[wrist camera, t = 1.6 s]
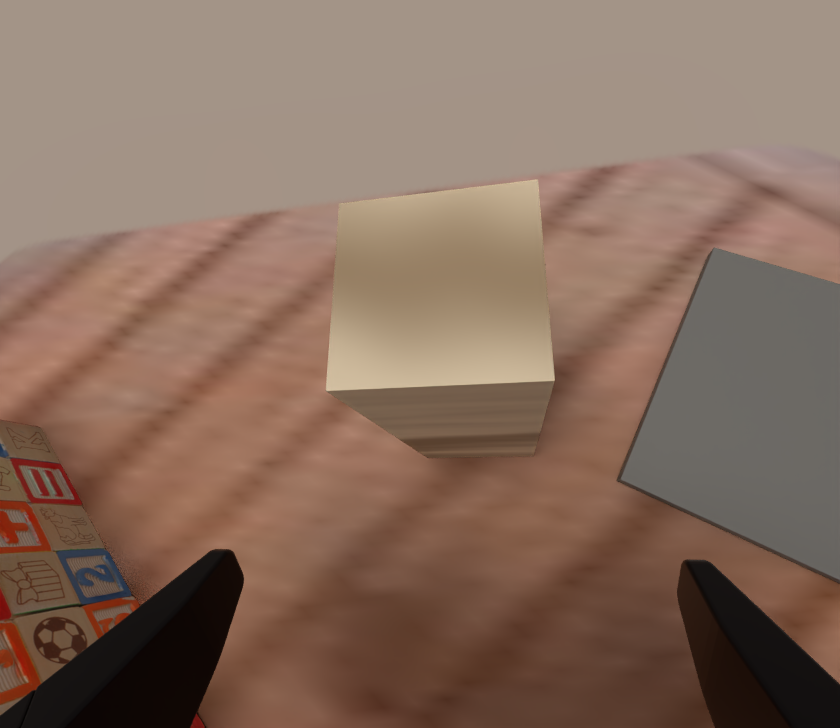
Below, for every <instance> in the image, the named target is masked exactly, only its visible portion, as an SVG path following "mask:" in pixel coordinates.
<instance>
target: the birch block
mask: <svg viewBox="0 0 840 728" xmlns="http://www.w3.org/2000/svg"><path fill="white" fill-rule="evenodd" d="M554 382H555V377H554V366H553V354H552V342H551V330H550V318H549V306H548V294H547V282H546V270H545V259H544V247H543V235H542V223H541V211H540V199H539V187H538V180H529V181H521V182H513V183H505V184H496V185H488V186H480V187H472V188H464V189H455V190H447V191H439V192H431V193H422V194H414V195H406V196H398V197H390V198H381V199H373V200H365V201H357V202H348V203H340V204H339V213H338V227H337V242H336V256H335V270H334V284H333V298H332V312H331V326H330V340H329V354H328V368H327V382H326V391H327V392H328V393H330V394H331V395H333V396H334V397H336V398H337V399H339V400H340V401H342V402H343V403H345V404H346V405H348V406H349V407H351V408H353V409H354V410H356V411H357V412H359V413H360V414H362V415H363V416H365V417H366V418H368V419H369V420H371V421H372V422H374V423H375V424H377V425H378V426H380V427H381V428H383V429H384V430H386V431H387V432H389V433H390V434H392V435H394V436H395V437H397V438H398V439H400V440H401V441H403V442H404V443H406V444H407V445H409V446H410V447H412V448H413V449H415V450H416V451H418V452H419V453H421V454H422V455H424V456H425V457H427V458H460V457H524V456H534V453H535V450H536V446H537V443H538V439H539V435H540V432H541V428H542V425H543V421H544V418H545V414H546V410H547V407H548V403H549V400H550V396H551V393H552V389H553V385H554Z"/></svg>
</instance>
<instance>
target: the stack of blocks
mask: <svg viewBox="0 0 840 728" xmlns="http://www.w3.org/2000/svg"><path fill="white" fill-rule="evenodd" d="M138 607H140V605H139V603H138V601H137V599H136V598H135V597H133V596H132V595H131V592H130V590H129V588H128V586H127V585H126V583H125V581H124V579H123V578H122V576H121V574H120V572H119V570H118V569H117V567H116V565H115V563H114V561H113V560H112V558H111V556H110V554H109V552H108V551H107V550H106V549H105V547H104V544H103V542H102V541H101V539H100V537H99V535H98V534H97V532H96V530H95V528H94V526H93V525H92V523H91V521H90V519H89V517H88V516H87V514H86V512H85V510H84V509H83V507H82V502H81V500H80V499H79V497H78V495H77V493H76V491H75V489H74V488H73V486H72V484H71V482H70V480H69V479H68V477H67V475H66V473H65V471H64V470H63V468H62V466H61V464H60V462H59V460H58V458H57V456H56V454H55V452H54V451H53V449H52V447H51V445H50V443H49V442H48V440H47V438H46V436H45V434H44V433H43V431H42V429H41V428H40V427H36V426H31V425H25V424H19V423H14V422H10V421H4V420H0V715H1V714H3V713H4V712H5V711H6V710H8V709H9V708H10V707H12V706H13V705H14V704H16V703H17V702H18V701H19V700H21V699H22V698H23V697H24V696H26V695H27V694H28V693H30V692H31V691H32V690H36V688H37V687H38V686H39V685H40V684H41V683H42V682H44V681H45V680H46V679H48V678H49V677H50V676H51V675H53V674H54V673H55V672H57V671H58V670H59V669H60V668H62V667H63V666H64V665H65V664H67V663H68V662H69V661H71V660H72V659H73V658H74V657H76V656H77V655H78V654H80V653H81V652H82V651H83V650H85V649H86V648H87V647H88V646H90V645H91V644H92V643H94V642H95V641H96V640H97V639H99V638H100V637H101V636H103V635H104V634H105V633H106V632H108V631H109V630H110V629H111V628H113V627H114V626H115V625H117V624H118V623H119V622H120V621H122V620H123V619H124V618H125V617H127V616H128V615H129V614H131V613H132V612H133V611H134V610H136V609H137V608H138ZM190 728H205V727H204V725H203V723H202V721H201V720H200V718H199V717H198V715H197V713H196V716H195V718H194V720H193V723H192V725H191V727H190Z"/></svg>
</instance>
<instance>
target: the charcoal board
mask: <svg viewBox="0 0 840 728" xmlns="http://www.w3.org/2000/svg"><path fill="white" fill-rule="evenodd" d="M617 481H619V482H621V483H623V484H625V485H627V486H629V487H632V488H634V489H636V490H638V491H640V492H642V493H645V494H647V495H649V496H651V497H653V498H655V499H658V500H660V501H662V502H664V503H666V504H668V505H671V506H673V507H675V508H677V509H679V510H681V511H684V512H686V513H688V514H690V515H692V516H694V517H697V518H699V519H701V520H703V521H705V522H707V523H710V524H712V525H714V526H716V527H718V528H720V529H723V530H725V531H727V532H729V533H731V534H733V535H736V536H738V537H740V538H742V539H744V540H746V541H749V542H751V543H753V544H755V545H757V546H759V547H762V548H764V549H766V550H768V551H770V552H772V553H775V554H777V555H779V556H781V557H783V558H785V559H788V560H790V561H792V562H794V563H796V564H798V565H801V566H803V567H805V568H807V569H809V570H811V571H814V572H816V573H818V574H820V575H822V576H824V577H827V578H829V579H831V580H833V581H835V582H837V583H840V284H837V283H834V282H830V281H827V280H824V279H820V278H817V277H813V276H810V275H806V274H803V273H800V272H796V271H793V270H789V269H786V268H782V267H779V266H776V265H772V264H769V263H765V262H762V261H758V260H755V259H752V258H748V257H745V256H741V255H738V254H734V253H731V252H728V251H724V250H721V249H717V248H713V250H712V251H711V252H710V254H709V255H708V257H707V259H706V262H705V264H704V267H703V269H702V272H701V274H700V277H699V279H698V281H697V284H696V286H695V289H694V291H693V294H692V296H691V299H690V301H689V304H688V306H687V309H686V311H685V314H684V316H683V318H682V321H681V323H680V326H679V328H678V331H677V333H676V336H675V338H674V341H673V343H672V346H671V348H670V351H669V353H668V355H667V358H666V360H665V363H664V365H663V368H662V370H661V373H660V375H659V378H658V380H657V383H656V385H655V388H654V390H653V392H652V395H651V397H650V400H649V402H648V405H647V407H646V410H645V412H644V415H643V417H642V420H641V422H640V425H639V427H638V429H637V432H636V434H635V437H634V439H633V442H632V444H631V447H630V449H629V452H628V454H627V457H626V459H625V462H624V464H623V466H622V469H621V471H620V474H619V476H618V479H617Z"/></svg>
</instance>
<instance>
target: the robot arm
mask: <svg viewBox="0 0 840 728" xmlns="http://www.w3.org/2000/svg"><path fill="white" fill-rule="evenodd" d="M243 583H244V576H243V572H242V570H241V568H240V566H239V563H238V561H237V559H236V556H235V554H234V552H233V551H231V550H229V549H214V550H212V551H210V552H208V553H207V554H206V555H205V556H203V557H202V558H201V559H200V560H198V561H197V562H196V563H194V564H193V565H192V566H191V567H189V568H188V569H187V570H185V571H184V572H183V573H182V574H180V575H179V576H178V577H177V578H175V579H174V580H173V581H171V582H170V583H169V584H168V585H166V586H165V587H164V588H162V589H161V590H160V591H159V592H157V593H156V594H155V595H154V596H152V597H151V598H150V599H148V600H147V601H146V602H145V603H143V604H142V605H141V606H140V607H138V608H137V609H136V610H134V611H133V612H132V613H131V614H129V615H128V616H127V617H125V618H124V619H123V620H122V621H120V622H119V623H118V624H117V625H115V626H114V627H113V628H111V629H110V630H109V631H108V632H106V633H105V634H104V635H103V636H101V637H100V638H99V639H97V640H96V641H95V642H94V643H92V644H91V645H90V646H88V647H87V648H86V649H85V650H83V651H82V652H81V653H80V654H78V655H77V656H76V657H74V658H73V659H72V660H71V661H69V662H68V663H67V664H65V665H64V666H63V667H62V668H60V669H59V670H58V671H57V672H55V673H54V674H53V675H51V676H50V677H49V678H48V679H46V680H45V681H44V682H42V683H41V684H40V685H39V686H38V687H37V688H36V690H32V691H31V692H30V693H28V694H27V695H26V696H24V697H23V698H22V699H21V700H19V701H18V702H17V703H16V704H14V705H13V706H12V707H10V708H9V709H8V710H6V711H5V712H4V713H3V714H1V715H0V728H190V727H191V725H192V723H193V720H194V718H195V716H196V713H197V711H198V709H199V706H200V704H201V702H202V699H203V697H204V695H205V692H206V690H207V687H208V685H209V683H210V680H211V678H212V676H213V673H214V671H215V668H216V666H217V663H218V661H219V658H220V656H221V653H222V650H223V647H224V644H225V641H226V638H227V635H228V632H229V628H230V625H231V622H232V619H233V616H234V613H235V610H236V607H237V604H238V601H239V597H240V594H241V591H242V588H243ZM677 596H678V602H679V606H680V610H681V614H682V618H683V622H684V625H685V629H686V633H687V637H688V641H689V644H690V648H691V652H692V656H693V659H694V663H695V667H696V671H697V675H698V678H699V682H700V686H701V689H702V693H703V696H704V699H705V701H706V704H707V707H708V710H709V713H710V715H711V718H712V721H713V723H714V726H715V728H840V684H839V683H838V682H837V681H836V680H835V679H834V678H833V677H832V676H831V675H829V674H828V673H827V672H826V671H825V670H824V669H823V668H822V667H821V666H820V665H819V664H818V663H817V662H816V661H815V660H814V659H813V658H811V657H810V656H809V655H808V654H807V653H806V652H805V651H804V650H803V649H802V648H801V647H800V646H799V645H798V644H797V643H796V642H794V641H793V640H792V639H791V638H790V637H789V636H788V635H787V634H786V633H785V632H784V631H783V630H782V629H781V628H780V627H779V626H778V625H776V624H775V623H774V622H773V621H772V620H771V619H770V618H769V617H768V616H767V615H766V614H765V613H764V612H763V611H762V610H761V609H759V608H758V607H757V606H756V605H755V604H754V603H753V602H752V601H751V600H750V599H749V598H748V597H747V596H746V595H745V594H744V593H743V592H741V591H740V590H739V589H738V588H737V587H736V586H735V585H734V584H733V583H732V582H731V581H730V580H729V579H728V578H727V577H726V576H724V575H723V574H722V573H721V572H720V571H719V570H718V569H717V568H716V567H715V566H714V565H713V564H712V563H710V562H708V561H706V560H684V561H683V562H682V565H681V570H680V576H679V582H678V588H677Z"/></svg>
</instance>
